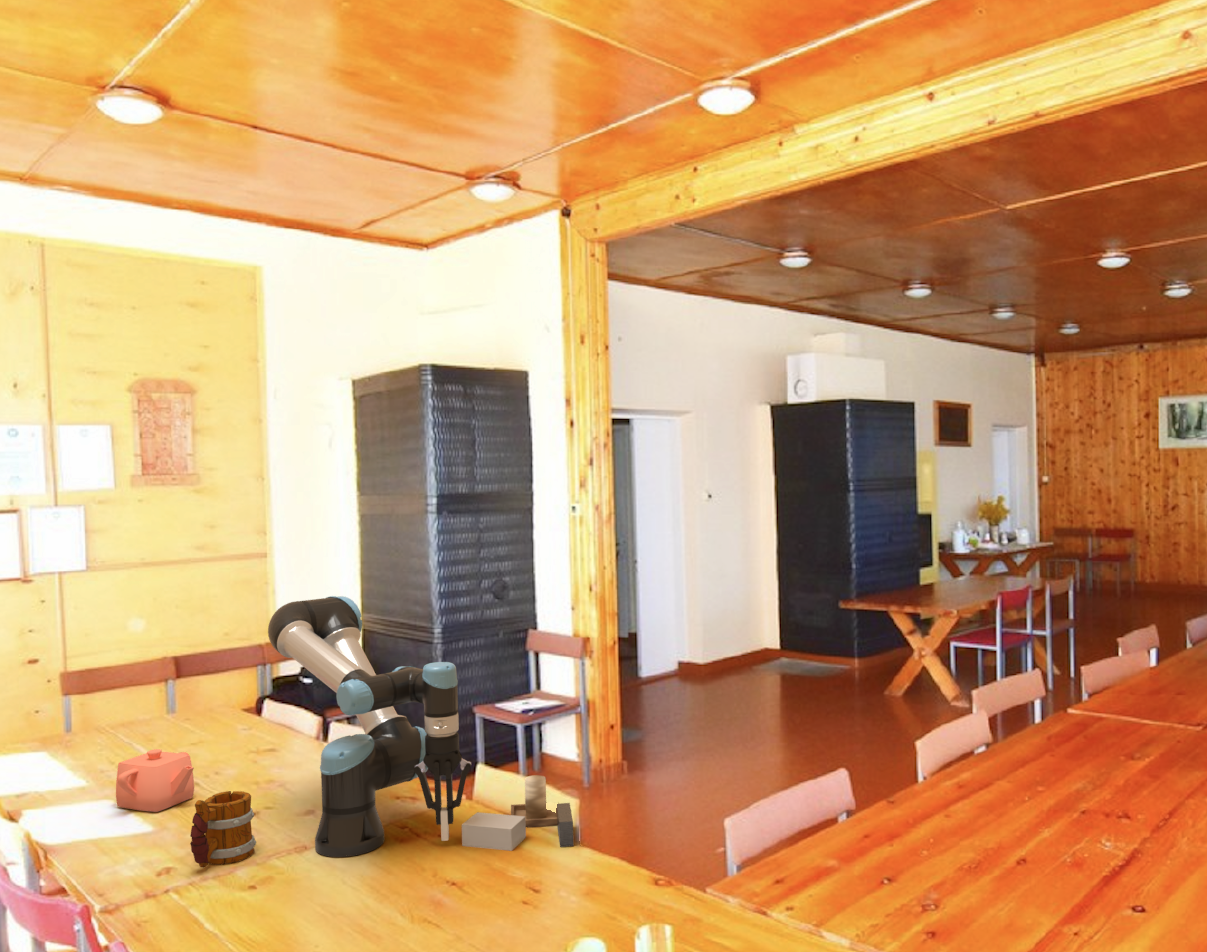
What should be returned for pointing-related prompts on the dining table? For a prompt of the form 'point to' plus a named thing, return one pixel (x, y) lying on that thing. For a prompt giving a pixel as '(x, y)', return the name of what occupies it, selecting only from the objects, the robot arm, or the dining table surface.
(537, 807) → the roller
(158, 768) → the teapot
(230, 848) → the mug
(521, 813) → the tray
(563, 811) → the block
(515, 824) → the slab
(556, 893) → the dining table surface
